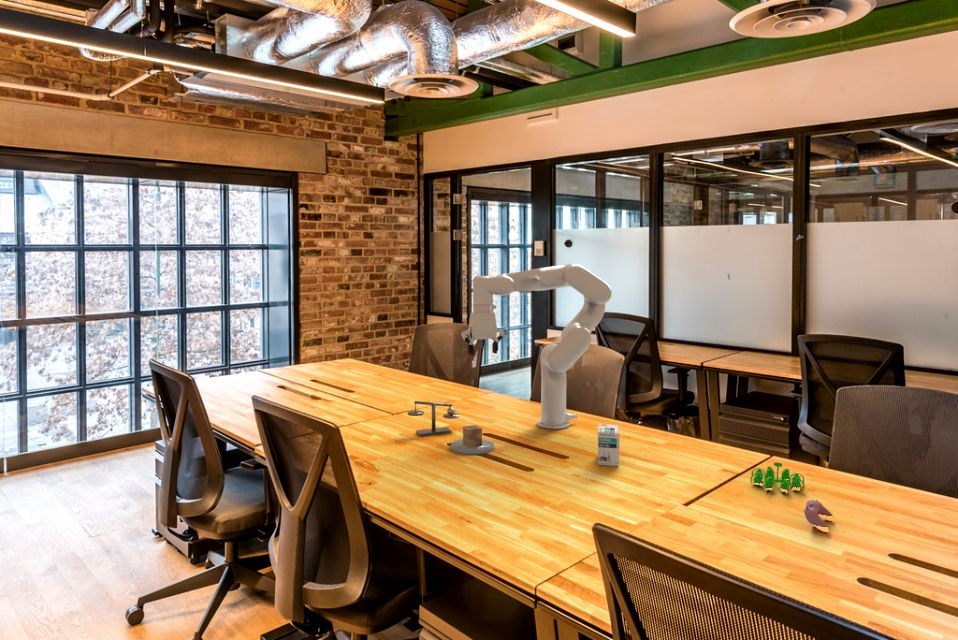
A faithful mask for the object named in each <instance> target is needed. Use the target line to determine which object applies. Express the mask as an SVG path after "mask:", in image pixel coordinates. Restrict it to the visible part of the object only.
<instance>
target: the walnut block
mask: <svg viewBox="0 0 958 640" xmlns="http://www.w3.org/2000/svg"><path fill="white" fill-rule="evenodd" d="M462 439H463V444H464V445H466V446H467V447H476V446H482V439H483V428H482V427H480V426H479V425H477V424H474V425H464V426H462Z"/></svg>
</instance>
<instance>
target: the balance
mask: <svg viewBox="0 0 958 640" xmlns="http://www.w3.org/2000/svg"><path fill="white" fill-rule="evenodd" d="M413 403H414V410H408V411H407V412H406V413H407V415H408V416H410V417H419V416H423V415H424V414H425V413H424V411H423V410H420V409H419V410H417V405H426V406H431V428H425V429H417V430H415V431H416V432H415V433H416V434H417V435H418V436H419V437H420V436H421V437H427V436H428V437H429V436H436V435H445V434H452V430H451V429H450V427H447V426H444V427H436V426H437V425H436V423H437V422H436V417H437V416H436V414H437V413H436V406H437V407H438V406H439V407H440V406H441V407H448V408H447V410H446V412H447V413H444V414H443V415H442V417H443V418H444V419H449V420H450V419H451V420H452V419H458V418H459V417H460V414H459V413H456V410H455V407H453V404H452V403H443V402H442V403H441V402H433V401H432V402H431V401H420V400H415V401H413Z"/></svg>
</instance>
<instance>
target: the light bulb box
mask: <svg viewBox="0 0 958 640" xmlns="http://www.w3.org/2000/svg"><path fill="white" fill-rule="evenodd" d="M597 449H598V450H597V465H598V466H607V467H609V466H611V467H612V466H613V467H620V466H619V465H620V425H619V424H605V423H604V424H603V423H599V424H598V429H597Z"/></svg>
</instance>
